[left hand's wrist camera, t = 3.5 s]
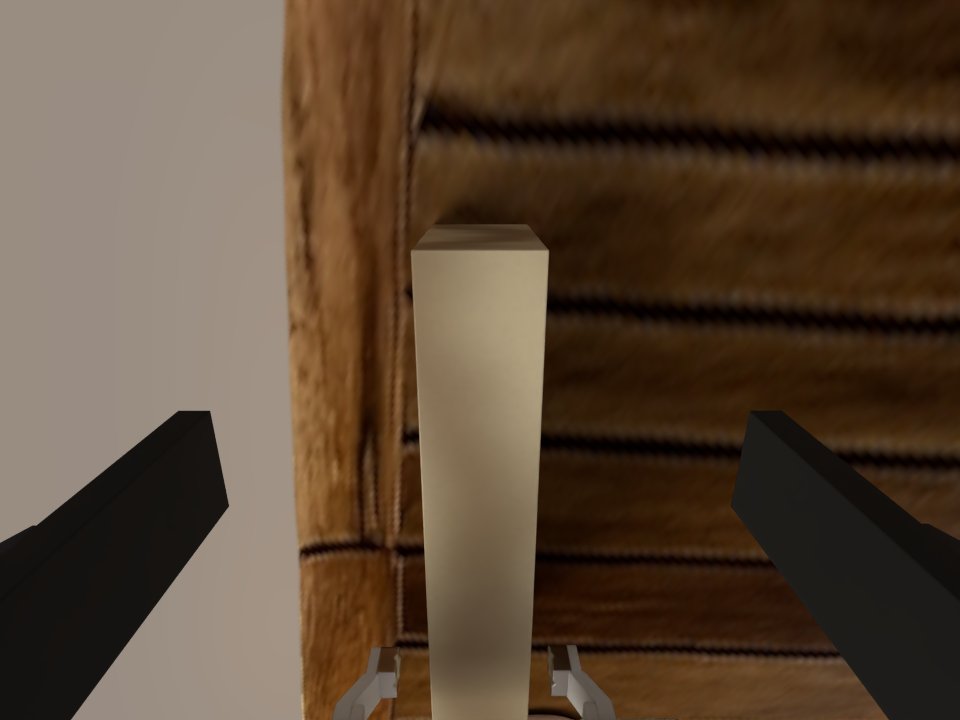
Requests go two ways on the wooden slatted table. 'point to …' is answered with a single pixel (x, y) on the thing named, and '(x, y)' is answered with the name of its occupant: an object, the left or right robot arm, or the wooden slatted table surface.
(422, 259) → the birch rail
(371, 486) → the wooden slatted table surface
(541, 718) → the anatomical model
